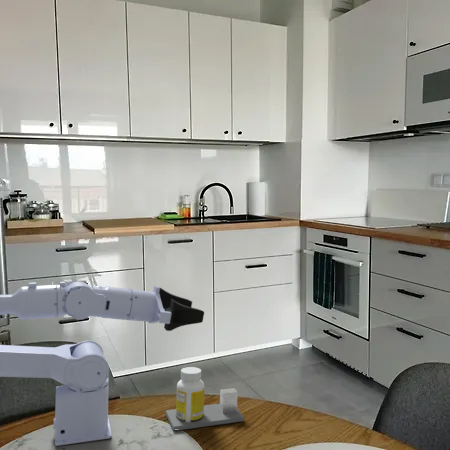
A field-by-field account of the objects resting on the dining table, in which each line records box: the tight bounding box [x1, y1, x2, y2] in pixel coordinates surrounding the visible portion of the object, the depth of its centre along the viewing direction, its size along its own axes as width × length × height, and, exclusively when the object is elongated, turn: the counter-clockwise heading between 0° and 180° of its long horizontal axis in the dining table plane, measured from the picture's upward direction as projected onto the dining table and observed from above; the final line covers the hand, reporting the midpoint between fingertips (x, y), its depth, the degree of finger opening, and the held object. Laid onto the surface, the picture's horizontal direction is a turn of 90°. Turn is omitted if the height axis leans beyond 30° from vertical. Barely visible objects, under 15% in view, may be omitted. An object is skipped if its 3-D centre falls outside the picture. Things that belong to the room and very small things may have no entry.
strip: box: [165, 387, 245, 431], centre depth 89 cm, size 14×7×5 cm, turn 109°
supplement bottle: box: [175, 366, 205, 422], centre depth 88 cm, size 5×5×10 cm
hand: (196, 311), depth 89 cm, fingers open, 7 cm apart
